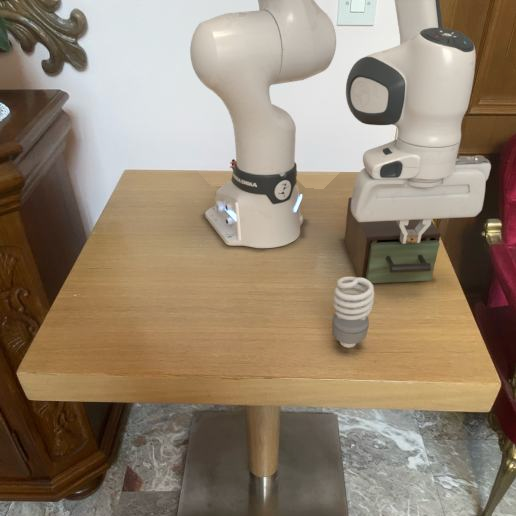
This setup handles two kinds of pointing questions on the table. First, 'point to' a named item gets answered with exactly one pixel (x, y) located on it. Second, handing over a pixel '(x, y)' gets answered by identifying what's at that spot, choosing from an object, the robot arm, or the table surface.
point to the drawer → (401, 261)
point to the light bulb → (352, 310)
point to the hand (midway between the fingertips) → (409, 242)
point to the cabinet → (375, 237)
